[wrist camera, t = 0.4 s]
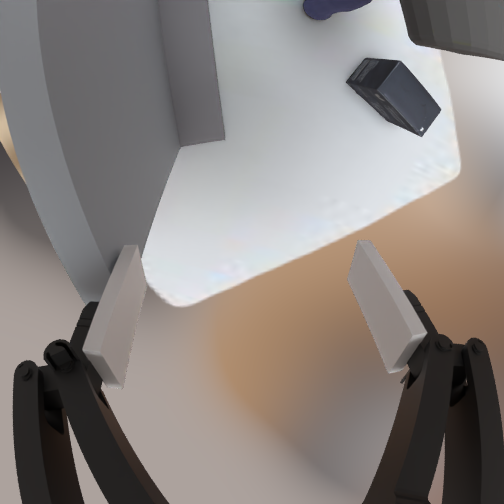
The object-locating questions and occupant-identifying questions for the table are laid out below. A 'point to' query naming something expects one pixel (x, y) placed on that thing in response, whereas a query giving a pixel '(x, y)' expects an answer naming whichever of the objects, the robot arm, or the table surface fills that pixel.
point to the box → (395, 94)
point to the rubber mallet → (439, 23)
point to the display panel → (104, 116)
